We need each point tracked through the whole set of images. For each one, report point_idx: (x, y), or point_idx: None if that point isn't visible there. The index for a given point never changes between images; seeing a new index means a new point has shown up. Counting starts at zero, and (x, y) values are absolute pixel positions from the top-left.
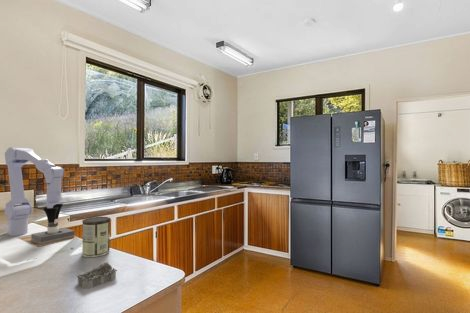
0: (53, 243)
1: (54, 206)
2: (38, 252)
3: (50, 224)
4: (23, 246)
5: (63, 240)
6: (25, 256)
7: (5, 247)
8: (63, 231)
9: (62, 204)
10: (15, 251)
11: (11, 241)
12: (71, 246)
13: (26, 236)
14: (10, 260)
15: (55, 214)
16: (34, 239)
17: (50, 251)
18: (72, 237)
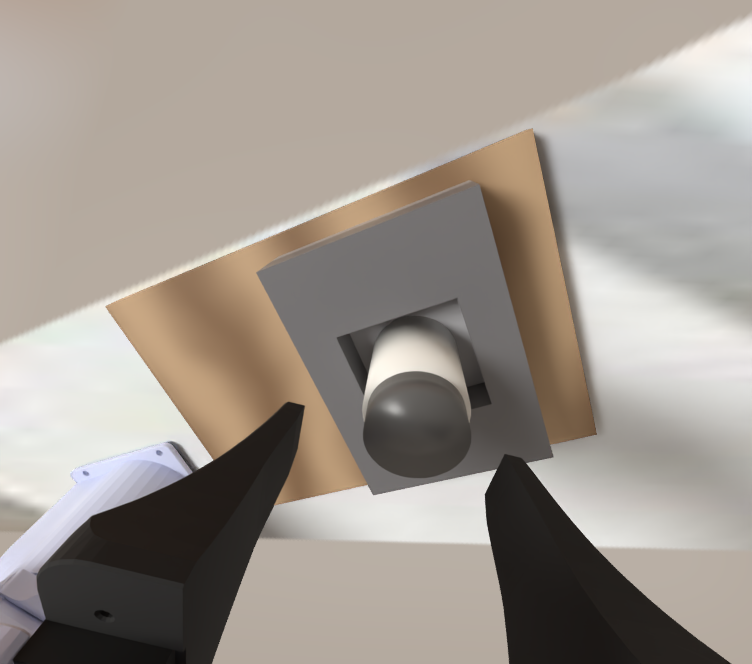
0: (575, 352)
1: (205, 632)
2: (666, 427)
3: (458, 457)
4: (445, 480)
5: (534, 279)
6: (692, 481)
7: (405, 539)
8: (435, 292)
9: (149, 563)
10: None
11: (286, 517)
12: (715, 223)
13: None
14: (702, 532)
15: (597, 554)
16: None
17: (714, 368)
18: None
